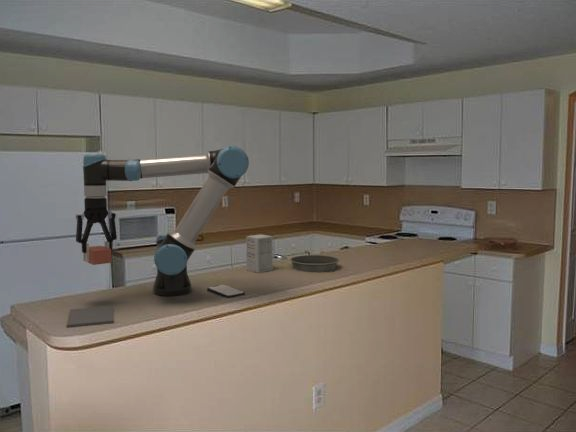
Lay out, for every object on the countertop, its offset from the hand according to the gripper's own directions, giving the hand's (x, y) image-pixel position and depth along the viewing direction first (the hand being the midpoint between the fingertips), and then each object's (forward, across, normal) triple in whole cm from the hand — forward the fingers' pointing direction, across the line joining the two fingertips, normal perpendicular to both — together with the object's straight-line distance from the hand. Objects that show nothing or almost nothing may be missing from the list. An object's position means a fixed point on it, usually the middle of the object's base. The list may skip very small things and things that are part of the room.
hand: (97, 260), depth 184 cm
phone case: (+17, -46, +15) cm, 51 cm away
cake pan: (+16, -107, 0) cm, 108 cm away
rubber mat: (+16, +8, +15) cm, 23 cm away
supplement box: (+16, -81, -12) cm, 83 cm away
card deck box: (0, 0, 0) cm, 0 cm away
